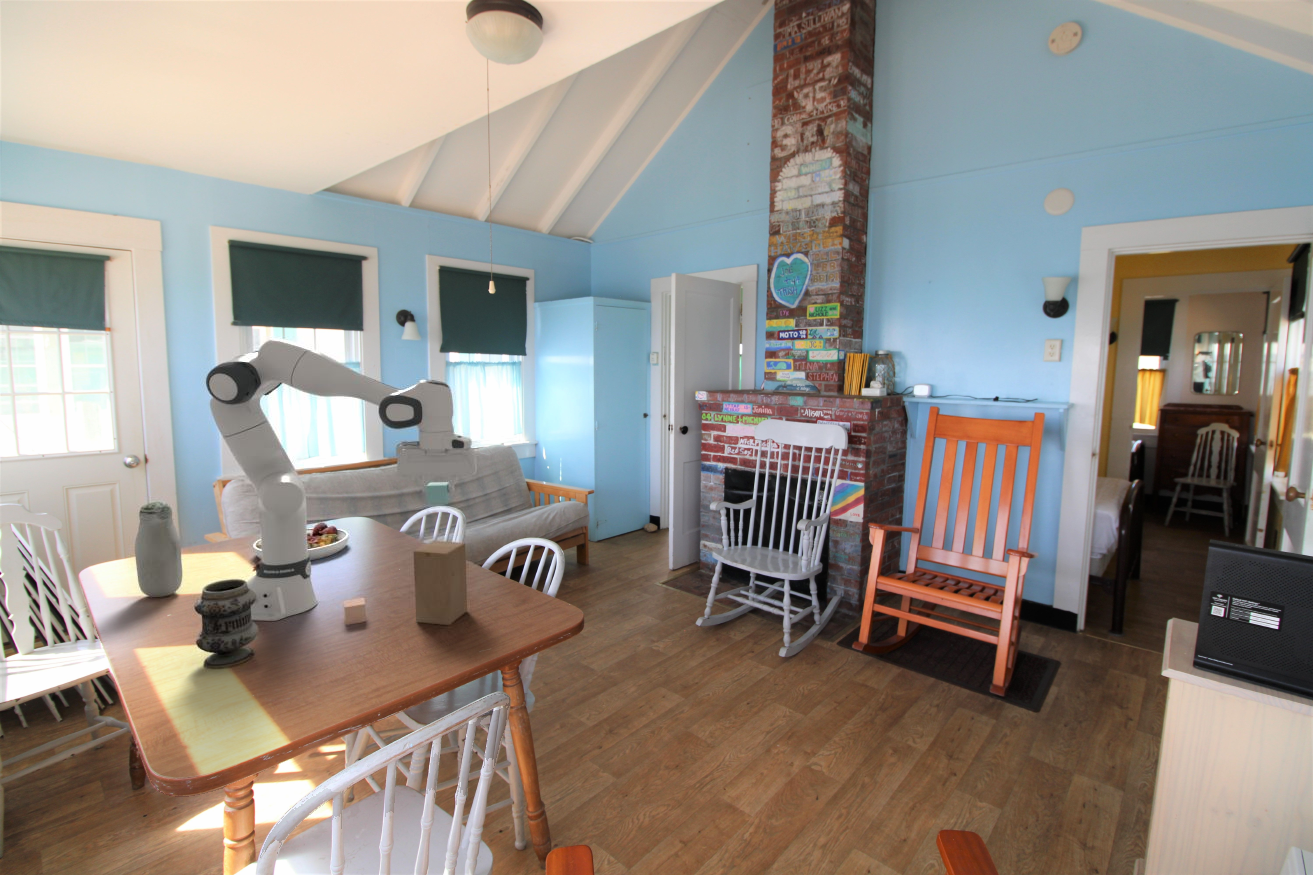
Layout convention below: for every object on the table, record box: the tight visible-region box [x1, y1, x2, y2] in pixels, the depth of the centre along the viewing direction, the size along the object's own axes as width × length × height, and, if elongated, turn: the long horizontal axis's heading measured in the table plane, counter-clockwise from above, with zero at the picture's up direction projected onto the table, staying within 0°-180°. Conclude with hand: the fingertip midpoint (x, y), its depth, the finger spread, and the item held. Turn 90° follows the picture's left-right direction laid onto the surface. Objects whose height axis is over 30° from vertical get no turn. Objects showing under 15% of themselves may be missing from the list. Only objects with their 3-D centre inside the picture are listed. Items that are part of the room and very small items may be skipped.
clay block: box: [343, 597, 367, 626], centre depth 166 cm, size 5×5×5 cm
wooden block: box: [413, 540, 468, 626], centre depth 168 cm, size 10×10×20 cm
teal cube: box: [426, 481, 451, 506], centre depth 165 cm, size 5×5×5 cm
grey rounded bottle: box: [134, 501, 183, 598], centre depth 180 cm, size 10×10×28 cm
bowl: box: [252, 522, 349, 561], centre depth 223 cm, size 30×30×8 cm
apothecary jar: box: [193, 578, 259, 669], centre depth 143 cm, size 12×12×18 cm
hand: (438, 492), depth 165 cm, fingers closed on teal cube, 5 cm apart
